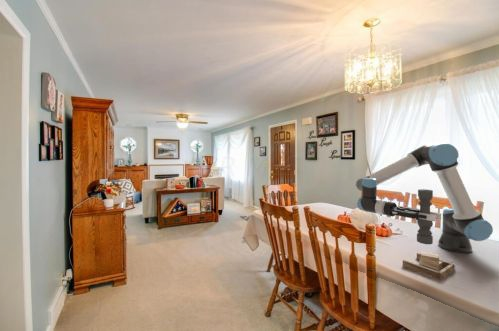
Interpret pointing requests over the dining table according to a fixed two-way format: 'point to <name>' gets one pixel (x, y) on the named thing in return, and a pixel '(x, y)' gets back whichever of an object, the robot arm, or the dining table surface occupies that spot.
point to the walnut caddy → (435, 274)
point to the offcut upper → (429, 257)
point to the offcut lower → (432, 264)
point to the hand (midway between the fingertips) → (438, 217)
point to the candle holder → (424, 225)
